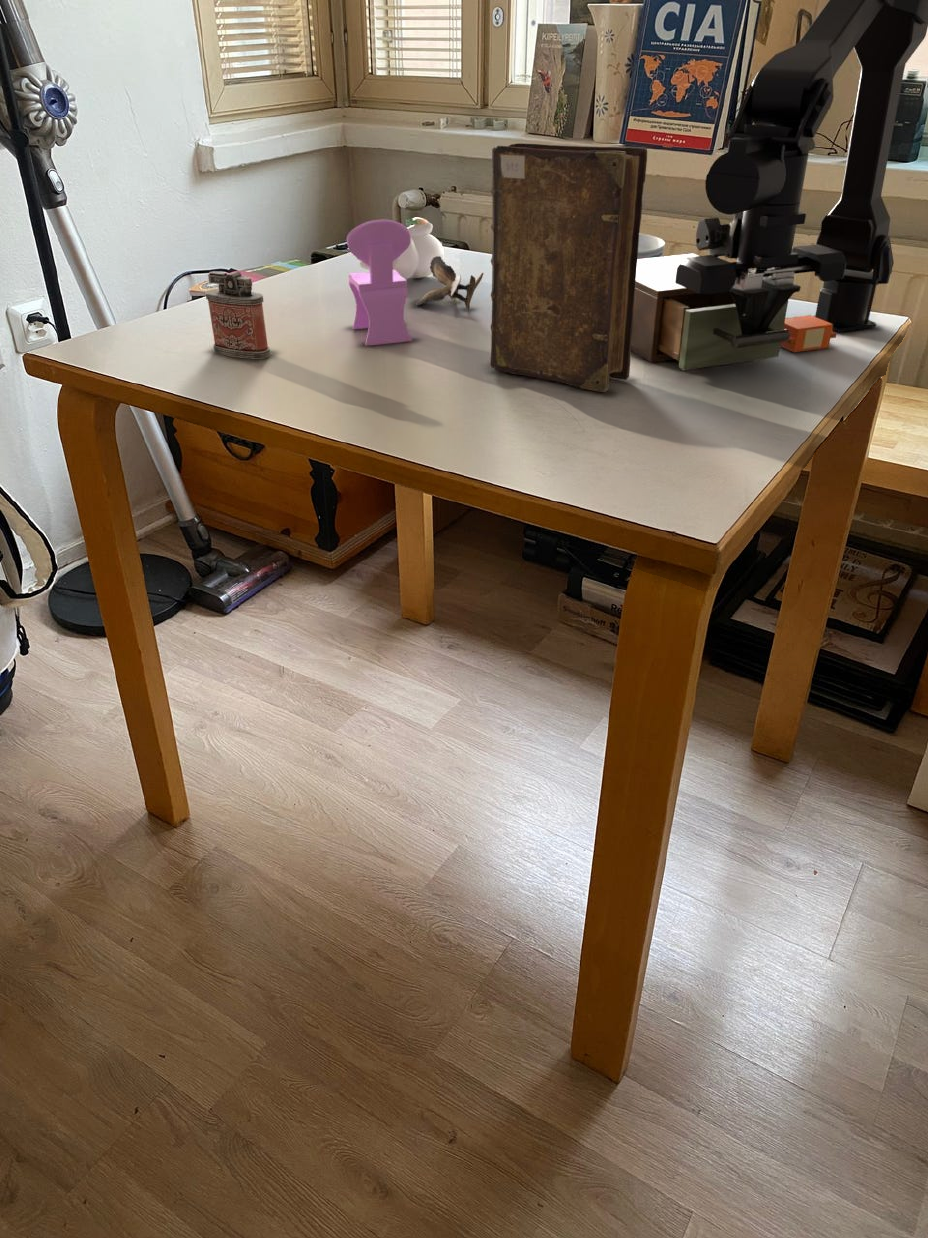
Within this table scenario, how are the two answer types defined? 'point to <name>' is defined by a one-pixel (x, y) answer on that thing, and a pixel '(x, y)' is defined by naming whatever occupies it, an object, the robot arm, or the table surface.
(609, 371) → the book
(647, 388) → the table surface
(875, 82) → the robot arm
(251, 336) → the lighter
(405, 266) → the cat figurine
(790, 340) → the orange box
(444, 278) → the eagle figurine
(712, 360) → the drawer
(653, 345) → the cabinet
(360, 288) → the toy chair
